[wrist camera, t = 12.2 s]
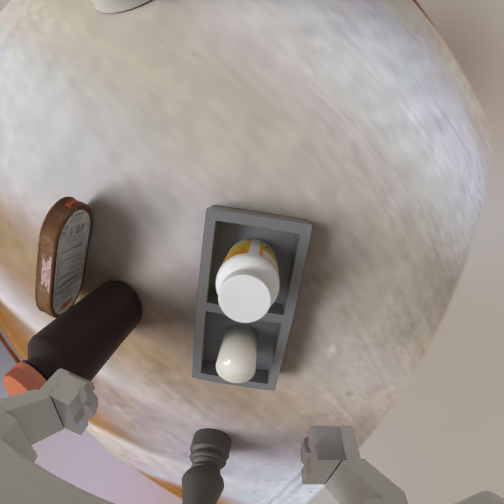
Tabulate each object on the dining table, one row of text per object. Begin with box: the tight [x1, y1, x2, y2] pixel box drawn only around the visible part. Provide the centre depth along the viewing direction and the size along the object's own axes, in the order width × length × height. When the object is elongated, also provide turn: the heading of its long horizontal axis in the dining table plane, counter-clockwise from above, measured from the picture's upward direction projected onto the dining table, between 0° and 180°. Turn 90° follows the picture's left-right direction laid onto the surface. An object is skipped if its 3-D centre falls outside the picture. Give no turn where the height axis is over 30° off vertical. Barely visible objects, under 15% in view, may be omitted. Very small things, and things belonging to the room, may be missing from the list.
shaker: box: [216, 324, 258, 383], centre depth 30 cm, size 4×4×6 cm
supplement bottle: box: [216, 238, 280, 323], centre depth 26 cm, size 5×5×10 cm
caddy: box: [192, 205, 313, 391], centre depth 31 cm, size 20×10×4 cm, turn 172°
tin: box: [35, 197, 92, 318], centre depth 28 cm, size 15×3×8 cm, turn 158°
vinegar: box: [4, 281, 142, 396], centre depth 24 cm, size 7×7×20 cm
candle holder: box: [182, 428, 231, 504], centre depth 27 cm, size 6×6×25 cm
